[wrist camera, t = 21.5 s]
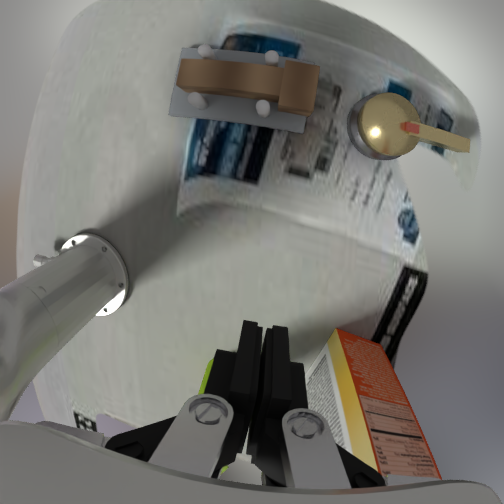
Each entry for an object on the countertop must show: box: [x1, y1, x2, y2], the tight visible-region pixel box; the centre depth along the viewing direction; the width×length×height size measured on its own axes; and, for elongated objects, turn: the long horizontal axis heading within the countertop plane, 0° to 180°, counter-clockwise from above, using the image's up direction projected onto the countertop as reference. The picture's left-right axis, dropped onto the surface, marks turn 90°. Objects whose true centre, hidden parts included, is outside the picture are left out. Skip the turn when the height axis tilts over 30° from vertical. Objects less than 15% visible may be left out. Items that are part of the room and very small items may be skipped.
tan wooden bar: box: [176, 58, 320, 117], centre depth 30 cm, size 15×5×4 cm, turn 81°
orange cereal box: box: [305, 328, 442, 480], centre depth 30 cm, size 23×8×30 cm, turn 157°
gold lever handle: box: [357, 93, 470, 156], centre depth 29 cm, size 14×7×3 cm, turn 85°
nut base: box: [347, 94, 401, 160], centre depth 32 cm, size 12×8×2 cm, turn 81°
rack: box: [168, 44, 315, 134], centre depth 30 cm, size 16×9×5 cm, turn 81°
